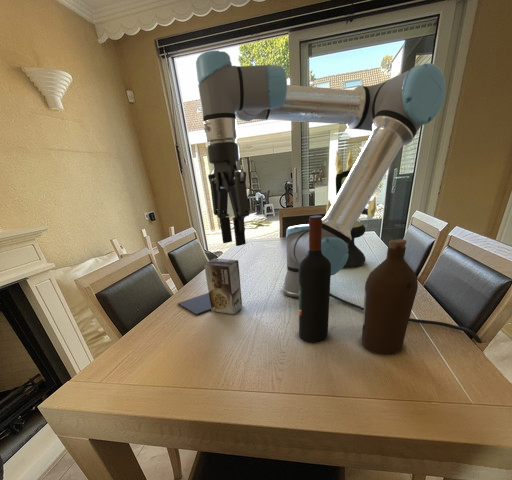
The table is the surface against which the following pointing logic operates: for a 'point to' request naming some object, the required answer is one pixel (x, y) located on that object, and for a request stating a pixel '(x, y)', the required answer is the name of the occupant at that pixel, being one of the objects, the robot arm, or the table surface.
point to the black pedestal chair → (358, 230)
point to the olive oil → (388, 301)
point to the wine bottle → (314, 288)
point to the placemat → (197, 304)
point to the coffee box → (224, 285)
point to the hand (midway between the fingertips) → (234, 243)
